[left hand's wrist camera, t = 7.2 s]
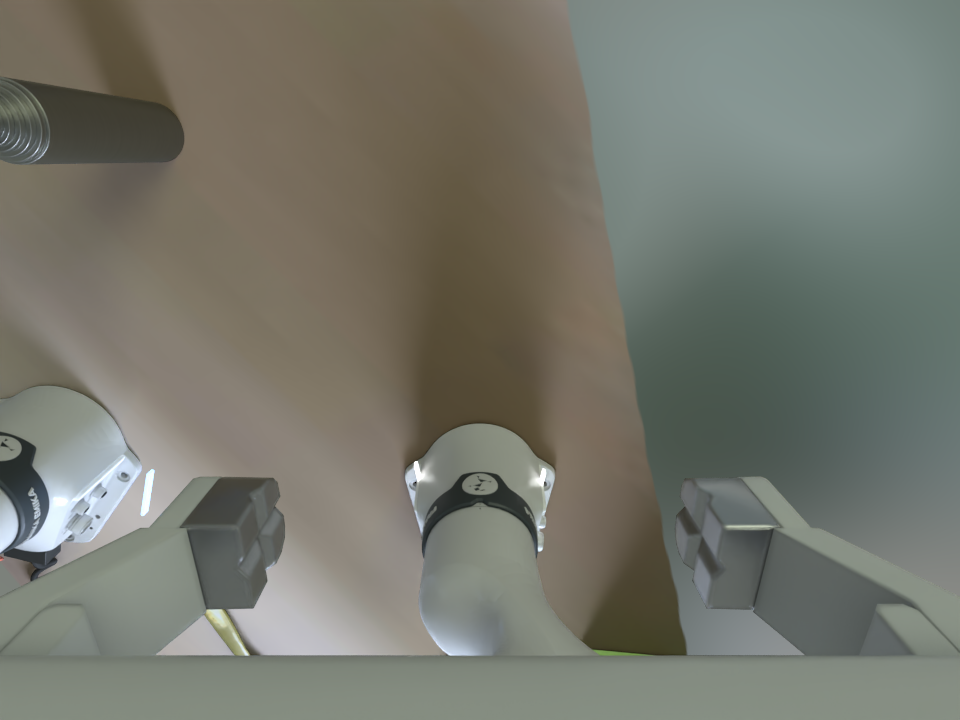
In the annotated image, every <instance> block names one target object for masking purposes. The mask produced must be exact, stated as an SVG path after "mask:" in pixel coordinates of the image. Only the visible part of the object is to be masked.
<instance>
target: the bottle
mask: <svg viewBox="0 0 960 720" xmlns="http://www.w3.org/2000/svg"><path fill="white" fill-rule="evenodd" d="M183 144H184V133H183V129H182V126H181V124H180V122H179V120H178V118H177V117H176V116H175V114H174V113H173V112H172V111H171V110H169V109H168V108H167V107H165V106H163V105H161V104H159V103H155V102H149V101H143V100H137V99H131V98H125V97H119V96H113V95H108V94H102V93H96V92H90V91H84V90H78V89H72V88H66V87H60V86H54V85H48V84H42V83H36V82H30V81H24V80H18V79H12V78H6V77H0V160H3V161H5V162H8V163H12V164H20V165H25V164H85V163H145V162H167V161H170V160H173V159H174V158H176V157H177V156H178V155H179V153H180V152H181V150H182V148H183Z"/></svg>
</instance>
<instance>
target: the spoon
mask: <svg viewBox="0 0 960 720" xmlns="http://www.w3.org/2000/svg"><path fill="white" fill-rule="evenodd" d="M206 611H207V612H206V613H205V614H204V615H205V616H206V618H207V619H208V621H209V622H210V623H211V625H212V626H213V627H214V629H215V630H216V631H217V633H218V634H219V635H220V637H221V638H222V639H223V641H224V642H225V643H226V644H227V646H228V647H229V648H230V650H231V651H232V652H233V654H234V655H235V656H239V655H250V654H249V652H248V651H247V649H246V648H245V646H244V644H243V642H242V640H241V638H240V636H239V634H238V632H237V630H236V628H235V626H234V624H233V623H232V621H231V619H230V617H229V616H228V614H227V612H226V611H225V609H213V610H206Z"/></svg>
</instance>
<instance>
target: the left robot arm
mask: <svg viewBox="0 0 960 720" xmlns="http://www.w3.org/2000/svg"><path fill="white" fill-rule="evenodd" d="M405 480H406V484H407V487H408V490H409V494H410V497H411V501H412V504H413V508H414V511H415V514H416V518H417V521H418V525H419V528H420V531H421V535H422V553H423V558H424V563H423V570H422V577H421V585H420V592H419V610H420V614H421V618H422V621H423V623H424V625H425V627H426V629H427V630H428V632H429V634H430V635H431V637H432V638H433V639H434V641H435V642H436V643H437V645H438V646H439V647H440V648H441V649H442V650H443V651H444V652H446V653H447V654H448V655H450V656H438V655H239V656H166V655H156V654H157V653H158V652H159V651H160V650H162V649H163V648H164V647H165V646H166V645H168V644H169V643H170V642H171V641H172V640H174V639H175V638H176V637H177V636H178V635H180V634H181V633H182V632H183V631H185V630H186V629H187V628H188V627H189V626H191V625H192V624H193V623H194V622H195V621H197V620H198V619H199V618H200V617H201V616H203V615H204V614H205V613H206V612H207V611H206V610H213V609H248V608H254V606H255V604H256V602H257V600H258V598H259V596H260V595H261V593H262V591H263V589H264V587H265V585H266V583H267V575H266V570H267V569H269V568H270V567H272V566H273V565H275V564H276V563H277V561H278V559H279V556H280V554H281V552H282V548H283V543H284V539H285V523H284V516H283V514H282V513H281V512H280V511H279V510H278V509H277V508H276V507H275V505H276V503H277V501H278V499H279V498H280V492H279V488H278V483H277V481H276V480H275V479H274V478H255V477H198V478H194V479H193V480H192V481H191V482H190V483H189V484H188V485H187V486H186V487H185V488H184V489H183V491H182V492H181V493H180V494H179V495H178V496H177V497H176V498H175V499H174V501H173V502H172V503H171V504H170V505H169V506H168V507H167V508H166V509H165V511H164V512H163V513H162V514H161V515H160V516H159V517H158V518H157V519H156V521H155V522H154V523H153V524H152V525H151V526H150V527H149V528H139V529H137V530H135V531H133V532H131V533H129V534H127V535H125V536H123V537H121V538H119V539H117V540H115V541H113V542H111V543H109V544H107V545H105V546H103V547H101V548H99V549H97V550H94V551H92V552H90V553H88V554H86V555H84V556H82V557H80V558H78V559H76V560H74V561H72V562H70V563H68V564H66V565H64V566H62V567H60V568H58V569H56V570H54V571H52V572H50V573H47V574H45V575H43V576H41V577H39V578H37V579H35V580H33V581H31V582H29V583H27V584H25V585H23V586H21V587H19V588H17V589H15V590H13V591H11V592H9V593H7V594H5V595H3V596H1V597H0V720H960V597H959V596H957V595H955V594H953V593H951V592H949V591H947V590H945V589H943V588H941V587H939V586H937V585H935V584H933V583H931V582H929V581H926V580H924V579H922V578H920V577H918V576H916V575H914V574H912V573H910V572H908V571H906V570H904V569H902V568H900V567H898V566H896V565H894V564H892V563H890V562H888V561H886V560H884V559H882V558H880V557H878V556H876V555H874V554H871V553H869V552H867V551H865V550H863V549H861V548H859V547H857V546H855V545H853V544H851V543H849V542H847V541H845V540H843V539H841V538H839V537H837V536H835V535H833V534H831V533H829V532H827V531H825V530H823V529H821V528H811V527H810V526H809V525H808V524H807V523H806V522H805V521H804V519H803V518H802V517H801V516H800V515H799V514H798V513H797V512H796V511H795V509H794V508H793V507H792V506H791V505H790V504H789V503H788V502H787V501H786V499H785V498H784V497H783V496H782V495H781V494H780V493H779V492H778V491H777V489H776V488H775V487H774V486H773V485H772V484H771V483H770V482H769V481H768V480H767V479H766V478H763V477H761V476H758V477H736V478H692V479H685V480H684V482H683V484H682V486H681V492H680V498H681V499H682V501H683V503H684V505H685V507H684V508H683V509H682V510H681V511H680V512H679V513H678V514H677V516H676V524H675V536H676V545H677V548H678V552H679V554H680V556H681V559H682V561H683V563H684V564H685V565H687V566H688V567H690V568H691V569H693V570H694V575H693V583H694V585H695V587H696V589H697V591H698V593H699V594H700V596H701V598H702V600H703V602H704V604H705V606H706V608H711V609H748V610H754V611H753V612H754V613H755V614H756V615H758V616H759V617H760V618H761V619H762V620H764V621H765V622H766V623H767V624H769V625H770V626H771V627H772V628H773V629H774V630H776V631H777V632H778V633H779V634H781V635H782V636H783V637H784V638H785V639H787V640H788V641H789V642H790V643H791V644H793V645H794V646H795V647H796V648H797V649H799V650H800V651H801V652H802V653H803V654H805V655H786V656H785V655H768V656H767V655H766V656H765V655H763V656H762V655H758V656H756V655H753V656H752V655H745V656H743V655H731V656H730V655H729V656H728V655H726V656H725V655H722V656H720V655H718V656H716V655H715V656H714V655H711V656H709V655H708V656H706V655H705V656H704V655H703V656H600V655H599V654H597V653H596V652H595V651H593V650H592V649H591V648H589V647H588V646H587V645H585V644H584V643H583V642H582V641H581V640H580V639H578V638H577V637H576V636H575V635H574V634H573V633H572V632H571V631H570V630H569V629H568V628H567V627H566V626H565V624H564V623H563V622H562V621H561V620H560V619H559V618H558V616H557V615H556V614H555V612H554V611H553V609H552V608H551V606H550V605H549V603H548V601H547V599H546V597H545V595H544V591H543V588H542V584H541V580H540V576H539V572H538V567H537V561H536V558H537V553H538V552H540V551H542V549H543V544H544V535H543V533H542V532H540V528H545V526H546V517H545V516H544V514H545V511H546V508H547V504H548V501H549V497H550V494H551V491H552V487H553V484H554V480H555V470H554V468H553V467H552V466H551V465H549V464H548V463H546V462H544V461H543V460H541V459H539V458H538V457H537V456H536V455H535V454H534V453H533V452H532V450H531V449H530V448H529V446H528V445H527V444H526V443H525V441H524V440H522V439H521V438H520V437H519V436H518V435H516V434H515V433H513V432H511V431H510V430H508V429H505V428H503V427H500V426H496V425H492V424H481V423H479V424H468V425H464V426H460V427H457V428H455V429H452V430H450V431H449V432H447V433H445V434H444V435H442V436H441V437H440V438H439V439H438V440H436V442H435V443H434V444H433V445H432V446H431V448H430V449H429V450H428V452H427V453H426V454H425V456H423V457H422V458H421V459H419V460H417V461H416V462H414V463H412V464H411V465H409V466H408V467H407V468H406V470H405ZM415 481H417V484H416V483H414V482H415ZM544 481H545V482H546V483H544ZM543 483H544V484H543Z"/></svg>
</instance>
